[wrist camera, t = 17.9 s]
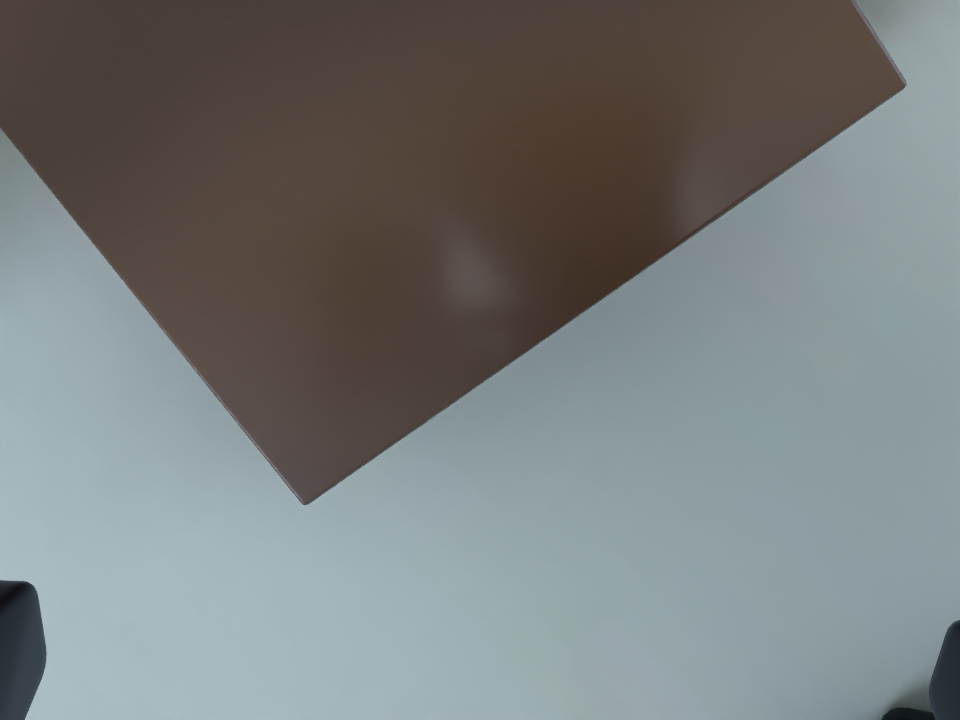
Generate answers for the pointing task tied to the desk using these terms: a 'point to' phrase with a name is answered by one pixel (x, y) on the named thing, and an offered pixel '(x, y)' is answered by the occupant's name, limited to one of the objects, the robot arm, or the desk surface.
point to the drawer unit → (407, 175)
